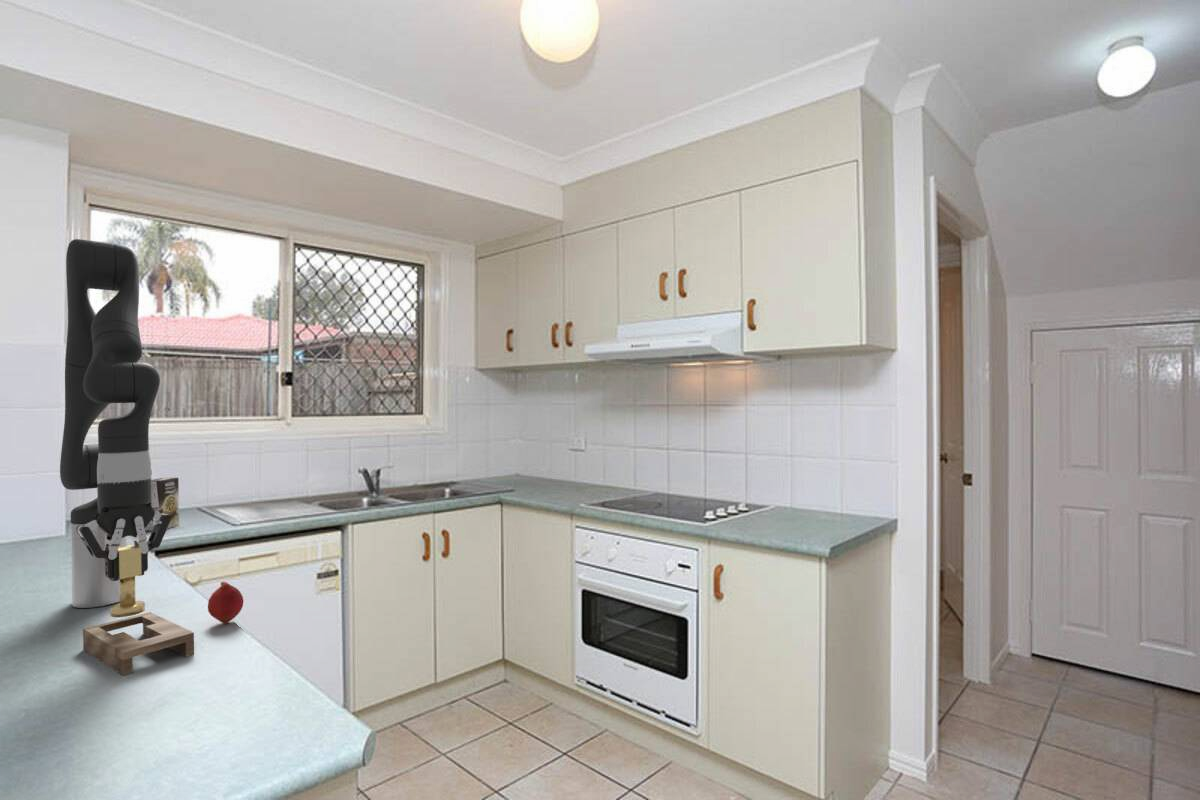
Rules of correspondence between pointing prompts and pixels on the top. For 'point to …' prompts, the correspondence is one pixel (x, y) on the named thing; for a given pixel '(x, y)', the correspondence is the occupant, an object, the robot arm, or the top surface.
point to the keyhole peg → (128, 582)
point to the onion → (225, 603)
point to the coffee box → (165, 499)
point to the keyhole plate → (135, 640)
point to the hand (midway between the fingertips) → (126, 577)
